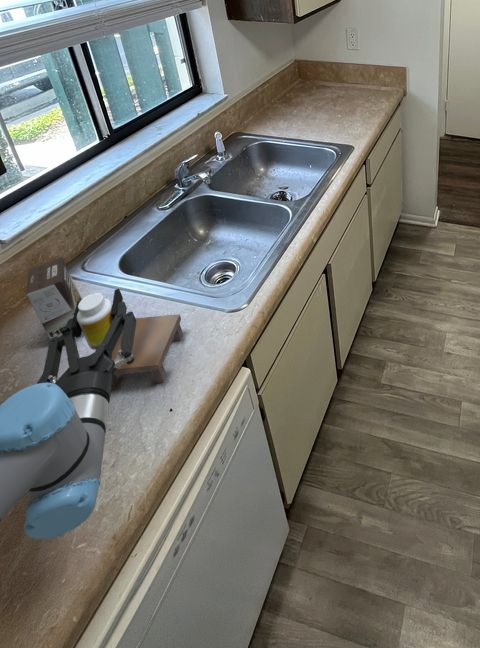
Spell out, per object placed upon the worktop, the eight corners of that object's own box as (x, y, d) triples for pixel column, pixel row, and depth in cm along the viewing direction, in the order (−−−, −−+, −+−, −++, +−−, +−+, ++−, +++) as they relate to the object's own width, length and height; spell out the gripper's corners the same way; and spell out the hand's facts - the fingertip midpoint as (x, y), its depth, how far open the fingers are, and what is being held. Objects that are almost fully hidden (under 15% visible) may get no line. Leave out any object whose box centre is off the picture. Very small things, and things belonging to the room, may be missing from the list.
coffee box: (86, 332, 101) (62, 281, 94) (52, 346, 97) (24, 295, 91) (86, 305, 108) (63, 255, 101) (54, 318, 104) (28, 267, 97)
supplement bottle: (128, 334, 86) (114, 297, 82) (98, 356, 82) (81, 319, 78) (113, 321, 89) (98, 285, 85) (83, 342, 85) (66, 305, 80)
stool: (103, 390, 88) (94, 371, 86) (131, 337, 99) (123, 319, 97) (165, 384, 89) (157, 365, 87) (185, 332, 100) (179, 314, 98)
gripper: (15, 453, 66) (50, 331, 85) (153, 396, 73) (157, 296, 92) (-5, 423, 63) (36, 304, 82) (141, 367, 70) (148, 269, 89)
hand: (100, 300), depth 87 cm, fingers closed on supplement bottle, 6 cm apart
